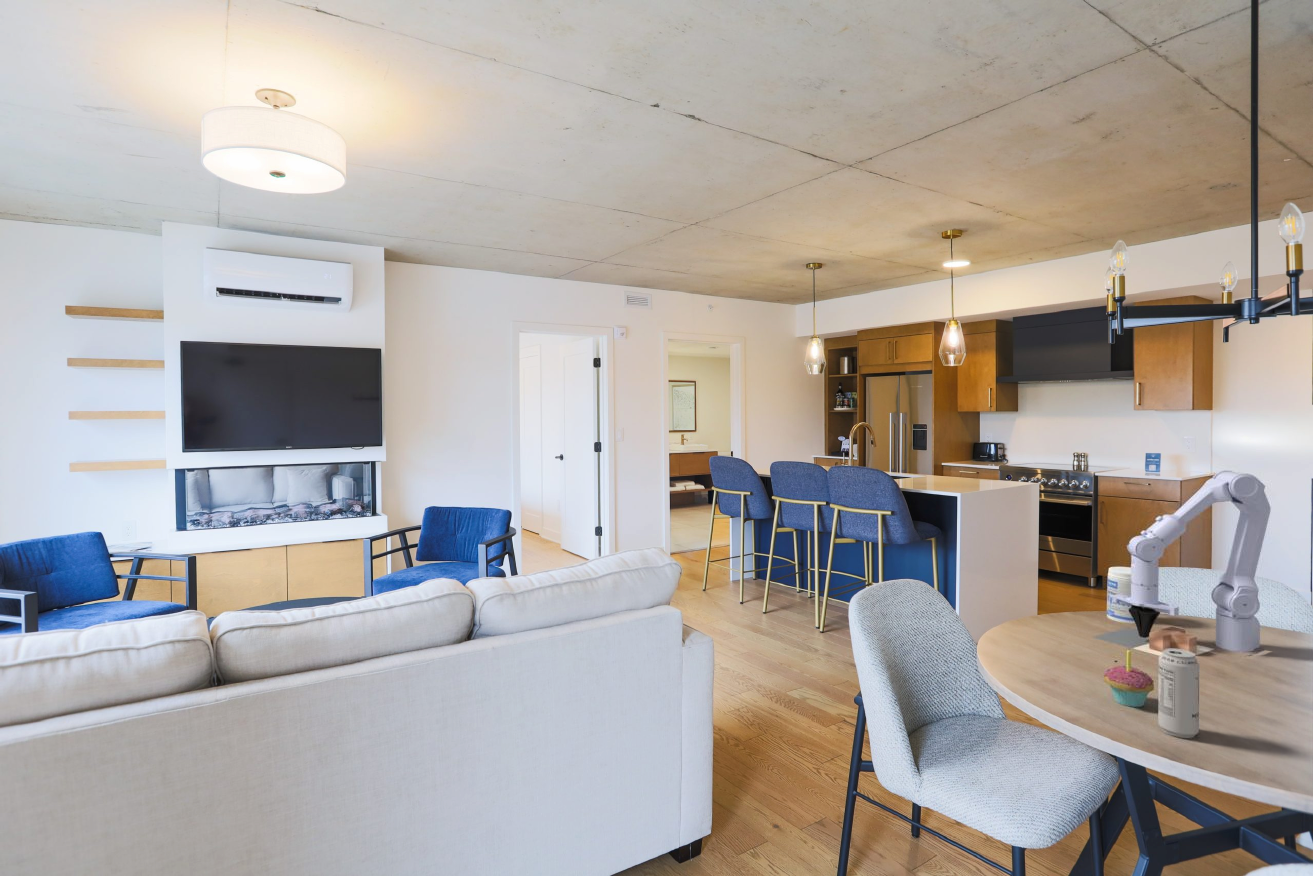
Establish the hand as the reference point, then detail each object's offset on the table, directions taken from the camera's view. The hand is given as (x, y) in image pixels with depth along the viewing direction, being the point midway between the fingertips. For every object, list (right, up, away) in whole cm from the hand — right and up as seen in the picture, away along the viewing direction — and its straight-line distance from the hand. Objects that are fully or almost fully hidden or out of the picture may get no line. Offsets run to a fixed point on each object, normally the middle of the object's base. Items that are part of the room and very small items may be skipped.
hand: (1144, 636), depth 175 cm
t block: (+3, -1, -7) cm, 7 cm away
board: (+1, -2, -1) cm, 2 cm away
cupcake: (-27, -4, -34) cm, 44 cm away
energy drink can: (-27, -4, -47) cm, 55 cm away
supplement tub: (+9, -1, +19) cm, 21 cm away
